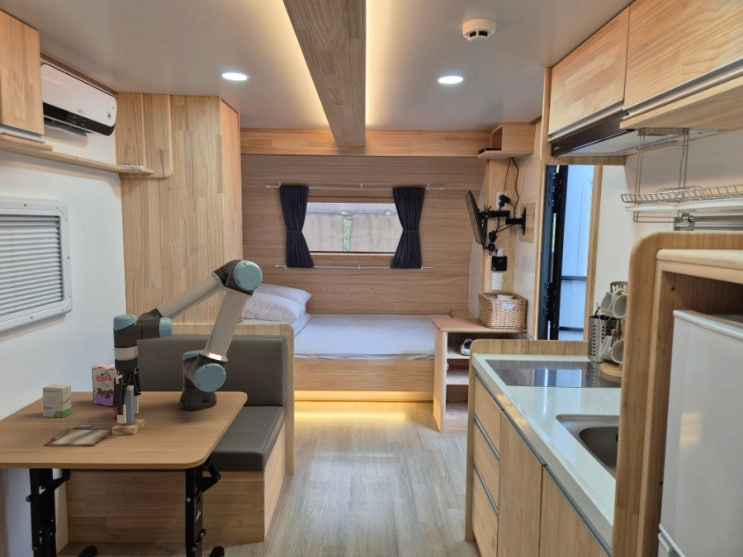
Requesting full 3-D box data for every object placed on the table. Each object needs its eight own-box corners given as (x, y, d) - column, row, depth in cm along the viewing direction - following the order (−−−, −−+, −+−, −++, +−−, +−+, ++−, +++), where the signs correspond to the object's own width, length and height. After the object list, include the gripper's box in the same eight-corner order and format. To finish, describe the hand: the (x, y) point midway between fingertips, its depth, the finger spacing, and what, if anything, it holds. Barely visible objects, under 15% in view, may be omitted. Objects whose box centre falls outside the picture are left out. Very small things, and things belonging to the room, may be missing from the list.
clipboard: (114, 430, 173) (114, 427, 173) (94, 446, 160) (93, 443, 160) (67, 430, 173) (67, 427, 173) (43, 446, 160) (43, 442, 160)
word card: (95, 424, 179) (95, 423, 179) (89, 428, 175) (89, 427, 175) (79, 424, 179) (79, 423, 178) (73, 428, 175) (73, 427, 174)
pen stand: (144, 425, 178) (144, 419, 178) (134, 434, 170) (134, 428, 170) (123, 425, 178) (123, 419, 177) (112, 434, 170) (111, 427, 170)
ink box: (42, 417, 185) (41, 387, 184) (52, 412, 190) (51, 383, 189) (63, 418, 184) (61, 388, 183) (72, 413, 189) (71, 384, 188)
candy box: (92, 404, 200) (90, 366, 198) (103, 399, 205) (102, 362, 204) (118, 407, 196) (117, 369, 194) (129, 403, 201) (128, 365, 200)
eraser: (135, 428, 175) (133, 385, 173) (131, 431, 173) (130, 387, 171) (125, 428, 175) (124, 385, 173) (122, 431, 173) (120, 387, 171)
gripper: (130, 350, 182) (132, 407, 184) (99, 365, 161) (101, 429, 163) (150, 350, 182) (151, 407, 184) (121, 365, 161) (123, 429, 163)
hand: (128, 417), depth 173 cm, fingers open, 9 cm apart
